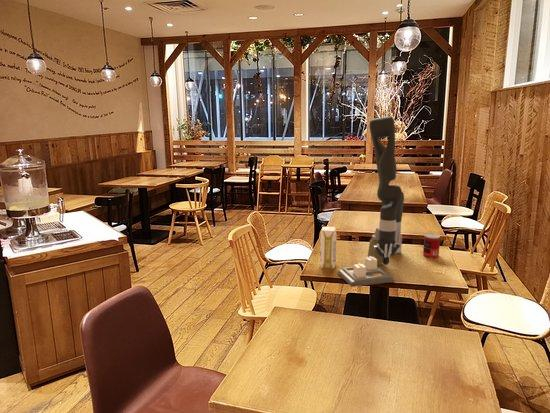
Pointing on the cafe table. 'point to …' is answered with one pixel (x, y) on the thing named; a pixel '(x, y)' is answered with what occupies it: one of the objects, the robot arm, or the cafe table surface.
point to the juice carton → (328, 247)
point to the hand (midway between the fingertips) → (385, 264)
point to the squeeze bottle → (371, 250)
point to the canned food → (431, 245)
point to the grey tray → (371, 277)
